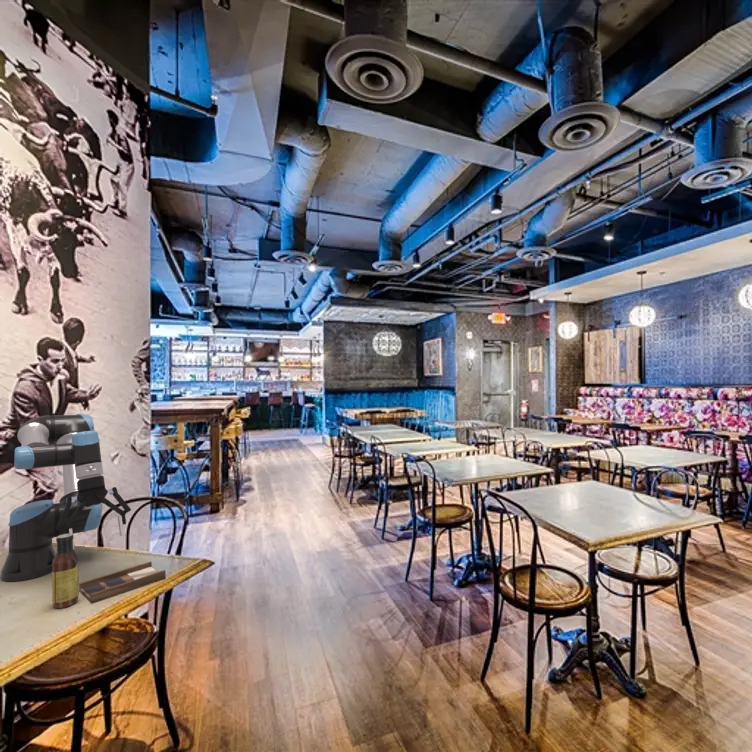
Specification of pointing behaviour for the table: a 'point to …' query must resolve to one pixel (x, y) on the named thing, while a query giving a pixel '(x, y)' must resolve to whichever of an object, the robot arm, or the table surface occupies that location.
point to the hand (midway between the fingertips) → (98, 542)
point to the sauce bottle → (65, 573)
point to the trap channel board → (120, 582)
